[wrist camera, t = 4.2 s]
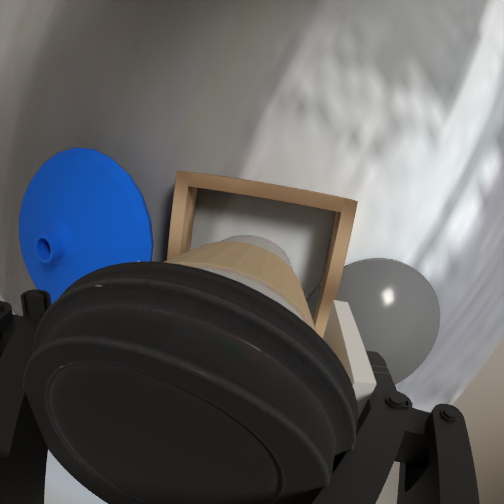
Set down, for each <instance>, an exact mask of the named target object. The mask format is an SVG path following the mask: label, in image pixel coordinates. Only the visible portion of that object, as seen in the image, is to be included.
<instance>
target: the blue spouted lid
mask: <svg viewBox="0 0 504 504" xmlns="http://www.w3.org/2000/svg"><path fill="white" fill-rule="evenodd" d="M19 237H20V244H21V250H22V255H23V258H24V261H25V264H26V267H27V270H28V272H29V274H30V276H31V278H32V280H33V282H34V283H35V285H36V287H37V289H38V290H45V291H47V292H49V294H50V296H51V304H52V303H53V302H55V301H56V300H57V299H58V298H59V297H60V296H61V295H62V294H63V292H64V291H65V290H66V289H67V288H68V287H69V286H70V285H72V284H73V283H74V282H75V281H77V280H78V279H80V278H81V277H83V276H85V275H86V274H89V273H91V272H93V271H95V270H97V269H100V268H104V267H107V266H110V265H115V264H120V263H126V262H137V261H149V262H151V261H152V252H153V235H152V226H151V218H150V216H149V213H148V210H147V207H146V204H145V201H144V198H143V195H142V194H141V192H140V190H139V189H138V187H137V186H136V184H135V182H134V181H133V179H132V177H131V176H130V175H129V174H128V173H127V172H126V171H125V170H124V169H123V168H121V167H120V166H119V165H118V164H117V163H116V162H115V161H114V160H113V159H112V158H110V157H108V156H106V155H104V154H102V153H100V152H98V151H96V150H93V149H85V148H72V149H69V150H66V151H62V152H59V153H57V154H56V155H55V156H53V157H52V158H50V159H49V160H48V161H46V162H45V163H44V164H43V165H42V167H41V168H40V169H39V170H38V172H37V173H36V174H35V176H34V177H33V178H32V180H31V182H30V184H29V186H28V188H27V191H26V193H25V195H24V198H23V202H22V207H21V211H20V218H19Z"/></svg>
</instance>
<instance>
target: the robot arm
mask: <svg viewBox="0 0 504 504" xmlns="http://www.w3.org/2000/svg"><path fill="white" fill-rule="evenodd" d="M137 262H140V261H137ZM21 302H22V308H23V314H24V315H23V316H18V315H13V314H12V308H11V305H10V304H9V303H7V302H2V301H0V504H44V489H45V474H46V462H47V452H48V447H47V444H46V442H45V440H44V438H43V436H42V433H41V431H40V429H39V426H38V424H37V422H36V419H35V417H34V414H33V412H32V409H31V406H30V404H29V401H28V398H27V395H26V392H25V391H24V390H23V377H24V372H25V368H26V366H27V363H28V361H29V359H30V358H31V356H32V354H33V343H34V338H35V334H36V330H37V327H38V325H39V323H40V321H41V319H42V317H43V315H44V314H45V312H46V311H47V309H48V308H49V307H50V306H51V296H50V294H49V292H47V291H45V290H29V291H26V292H24V293H23V294H22V295H21ZM323 340H324V341H325V342H326V343H327V344H328V345H329V347H330V348H331V349H332V350H333V352H334V353H335V354H336V356H337V357H338V359H339V360H340V362H341V363H342V365H343V366H344V368H345V370H346V372H347V374H348V376H349V378H350V380H351V383H352V386H353V389H354V391H355V395H356V400H357V406H358V425H357V431H356V444H355V448H354V449H352V450H348V451H347V452H346V454H345V455H344V457H343V459H342V460H341V462H340V463H339V465H338V467H337V468H336V470H335V471H334V473H333V474H332V477H331V482H330V485H329V486H324V487H323V489H322V490H321V492H320V493H319V494H318V496H317V497H316V499H315V500H314V501H313V503H312V504H375V503H376V501H377V499H378V497H379V495H380V493H381V491H382V488H383V486H384V484H385V482H386V479H387V477H388V475H389V472H390V470H391V467H392V465H393V463H394V461H397V462H400V471H399V485H398V497H397V504H479V496H478V488H477V480H476V474H475V468H474V462H473V457H472V452H471V446H470V442H469V437H468V432H467V428H466V424H465V420H464V417H463V415H462V413H461V412H460V411H459V410H458V409H457V408H456V407H454V406H452V405H449V404H438V405H436V406H435V407H434V408H433V410H432V412H431V413H429V412H425V411H421V410H417V409H414V408H412V402H411V400H410V399H409V398H408V397H407V396H406V395H404V394H402V393H400V392H398V391H397V390H396V387H395V385H394V382H393V380H392V377H391V375H390V374H389V373H390V372H389V370H388V368H387V365H386V362H385V360H384V358H383V357H382V356H381V355H380V354H379V353H378V352H373V351H365V348H364V345H363V342H362V339H361V337H360V334H359V331H358V328H357V325H356V323H355V320H354V317H353V315H352V312H351V309H350V307H349V304H348V302H343V301H337V300H333V303H332V307H331V311H330V314H329V318H328V321H327V325H326V328H325V332H324V335H323Z"/></svg>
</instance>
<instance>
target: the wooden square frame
mask: <svg viewBox="0 0 504 504" xmlns="http://www.w3.org/2000/svg"><path fill="white" fill-rule="evenodd" d="M198 188H204V189H211V190H218V191H224V192H231V193H237V194H243V195H249V196H255V197H261V198H267V199H273V200H279V201H284V202H290V203H295V204H300V205H306V206H311V207H316V208H321V209H326V210H331V211H336V214H335V219H334V224H333V229H332V234H331V239H330V243H329V248H328V253H327V257H326V262H325V266H324V271H323V275H322V279H321V290H320V295H319V299H318V303H317V307H316V311H315V314H314V318H313V323H314V326H315V329H316V332H317V334H318V335H319V336H320V337H321V338H322V339H323V335H324V332H325V328H326V325H327V321H328V318H329V314H330V311H331V307H332V303H333V300H336V296H337V292H338V288H339V284H340V280H341V276H342V272H343V268H344V263H345V259H346V255H347V250H348V246H349V241H350V237H351V232H352V227H353V223H354V218H355V213H356V207H357V202H358V201H355V200H352V199H347V198H343V197H338V196H333V195H328V194H323V193H318V192H313V191H308V190H302V189H297V188H292V187H286V186H280V185H275V184H269V183H263V182H257V181H250V180H244V179H237V178H231V177H224V176H217V175H209V174H202V173H194V172H185V171H177V175H176V182H175V190H174V198H173V206H172V214H171V224H170V233H169V243H168V254H167V260H169V259H171V258H174V257H176V256H178V255H181V254H183V253H186V252H188V251H190V245H191V236H192V228H193V220H194V212H195V204H196V197H197V189H198Z"/></svg>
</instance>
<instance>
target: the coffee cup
mask: <svg viewBox="0 0 504 504" xmlns="http://www.w3.org/2000/svg"><path fill="white" fill-rule="evenodd" d="M23 390H24V391H25V392H26V395H27V398H28V401H29V404H30V406H31V409H32V412H33V414H34V417H35V419H36V422H37V424H38V426H39V429H40V431H41V433H42V436H43V438H44V440H45V442H46V444H47V447H48V449H49V451H50V452H51V453H52V455H53V456H54V457H55V458H56V459H57V461H58V462H59V463H60V464H61V465H62V466H63V467H64V468H65V469H66V470H67V471H68V472H69V473H70V474H71V475H72V476H73V477H74V478H75V479H76V480H77V481H78V482H80V483H81V484H82V485H83V486H84V487H86V488H87V489H88V490H89V491H91V492H92V493H93V494H95V495H96V496H98V497H99V498H100V499H102V500H103V501H105V502H107V503H108V504H312V503H313V501H314V500H315V499H316V497H317V496H318V494H319V493H320V492H321V490H322V489H323V487H324V486H329V485H330V482H331V477H332V474H333V473H334V471H335V470H336V468H337V467H338V465H339V463H340V462H341V460H342V459H343V457H344V455H345V454H346V452H347V451H348V450H352V449H354V448H355V444H356V431H357V425H358V406H357V400H356V395H355V391H354V389H353V386H352V383H351V380H350V378H349V376H348V374H347V372H346V370H345V368H344V366H343V365H342V363H341V362H340V360H339V359H338V357H337V356H336V354H335V353H334V352H333V350H332V349H331V348H330V347H329V345H328V344H327V343H326V342H325V341H324V340H323V339H322V338H321V337H320V336H319V335H318V334H317V332H316V329H315V326H314V323H313V320H312V317H311V314H310V311H309V308H308V305H307V302H306V299H305V296H304V293H303V290H302V287H301V284H300V282H299V279H298V278H297V276H296V275H295V273H294V271H293V269H292V266H291V263H290V260H289V258H288V257H287V255H286V254H285V252H284V251H283V250H282V249H281V248H280V247H279V246H278V245H276V244H275V243H273V242H271V241H270V240H267V239H264V238H262V237H257V236H252V235H240V236H233V237H230V238H227V239H224V240H222V241H220V242H216V243H210V244H206V245H203V246H201V247H198V248H195V249H193V250H190V251H188V252H186V253H183V254H181V255H178V256H176V257H174V258H171V259H169V260H167V261H164V262H149V261H140V262H126V263H120V264H115V265H110V266H107V267H104V268H100V269H97V270H95V271H93V272H91V273H89V274H86V275H85V276H83V277H81V278H80V279H78V280H77V281H75V282H74V283H73V284H72V285H70V286H69V287H68V288H67V289H66V290H65V291H64V292H63V294H62V295H61V296H60V297H59V298H58V299H57V300H56V301H55V302H53V303H52V305H51V306H50V307H49V308H48V309H47V311H46V312H45V314H44V315H43V317H42V319H41V321H40V323H39V325H38V327H37V330H36V334H35V338H34V343H33V354H32V356H31V358H30V359H29V361H28V363H27V366H26V368H25V372H24V377H23Z"/></svg>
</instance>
